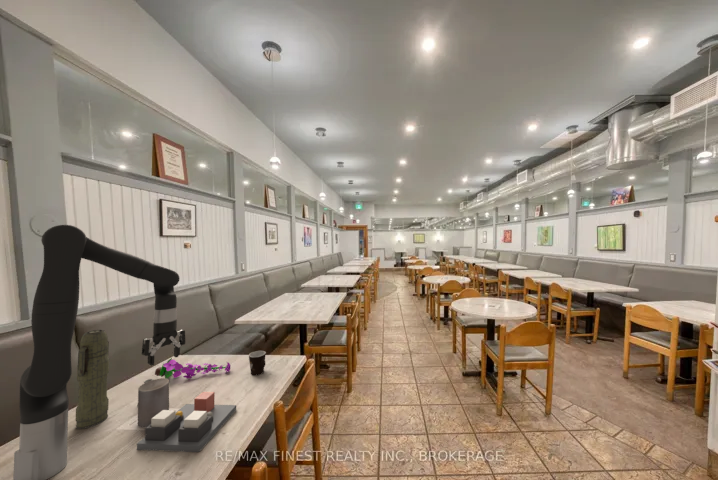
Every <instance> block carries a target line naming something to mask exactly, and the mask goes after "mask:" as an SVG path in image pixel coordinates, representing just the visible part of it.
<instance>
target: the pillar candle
mask: <svg viewBox="0 0 718 480" xmlns="http://www.w3.org/2000/svg"><path fill="white" fill-rule="evenodd" d="M137 392H138V393H137V397H138V398H137V404H138V407H137V426H138V427H139V428H146V427H148V426H149V425H150V424H151V419H152V418H153V417H154V416H156V415H157V414H158V413H160V412H161V411H162V410H170V379H168V378H165V377H163V378H162V377H161V378H156V379H154V380H152V381H149V382H146V383H144V382H143V383H142V384H141V385H139V387H138V391H137Z"/></svg>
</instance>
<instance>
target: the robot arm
mask: <svg viewBox="0 0 718 480" xmlns="http://www.w3.org/2000/svg"><path fill="white" fill-rule="evenodd" d="M41 244H42V246H43V268H42V272H41V276H40V278H39V281H38V284H37V287H36V290H35V293H34V298H33V303H32V309H31V334H32V341H33V355H32V360H31V365H29V366H28V367H27V368H26V369H25V370H24V371H23V372H22V374H21V377H20V381H19V404H18V405H19V418H20V420H19V422H20V423H19V424H20V425H19V446H18V447H19V449H17V450H16V451H14V453H13V454H14V455H13V477H12V478H13V479H12V480H48V479H50V478H52V477H54V476H55V475H57V474H58V473H60V472H61V471H62V470H63V469H64V468H65V467H66V466H67V464H68V432H69V431H68V429H69V427H68V426H69V405H70V404H69V396H68V391H67V388H68V387H67V384H68V382H69V381H70V379H71V376H72V374H73V370H72V369H73V368H72V367H73V366H72V342H73V335H74V332H75V328H76V327H75V326H76V322H77V316H78V312H79V311H78V310H79V303H80V302H79V301H80V267H81V266H80V265H81V262H82V259H83V260H87V261H89V262H93V263H96V264H99V265H102V266H105V267H107V268H109V269H110V270H111V269H112V270H115V271H116V272H119V273H122V274H124V275H128V276H129V277H133V278H136V279H139V280H144V281H147V282H150V283H152V284H153V285H152V286H153V291H154V297H155V299H154V312H153V319H152V321H153V325H152V326H153V330H152V332H153V335H152V337H150V338H146V337H145V338H143V339H142V347H141V355H142V356H144V357H147V364H148V365H149V366H154V365H155V354H156V352H157V351H158V350H159V349H160V348H162V347H165V346H169V345H173V346H174V347H173V357H174V358H179V356H180V355H181V346H184V345H186V331H185V330H183V329H178V310H177V306H178V305H177V303H178V302H177V299H178V298H177V294H176V293H175V286H177V285H178V284H179V282H180V276H179V274H178V273H177V272H176V271H175V270H173V269H170V268H167V267H164V266H162V265H161V266H160V265H158V264H155V263H153V262H150V261H148V260H146V259H144V258H141V257H139V256H135V255H133V254H130V253H127V252H124V251H122V250H117V249H114V248H111V247H109V246H107V245H106V246H105V245H103V244H101V243H99V242H96V241H95V240H92V239H91V238H89V237H87V236H86V233H85V232H84V231H83V230H82V229H80V228H79V227H78V226H75V225H71V224H59V225H58V224H57V225H55V226H52V227H49V228H48V229H47V230H45V232H44V233H43V234H42V236H41ZM177 329H178V331H177ZM177 336H178V340H177V339H176V338H177ZM151 344H152V345H151Z"/></svg>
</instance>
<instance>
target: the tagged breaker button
mask: <svg viewBox="0 0 718 480" xmlns="http://www.w3.org/2000/svg"><path fill="white" fill-rule="evenodd" d="M175 413H176V410H175V409H174V410H173V409H169V410H162V411H161V412H160V413H158V414H157V415H156V416H154V417H153V418H152V419H151V427H165V426H167V425H168V424H169V423H170V422H171V421H173V420H174V419H175Z"/></svg>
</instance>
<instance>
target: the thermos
mask: <svg viewBox="0 0 718 480" xmlns="http://www.w3.org/2000/svg"><path fill="white" fill-rule="evenodd" d="M108 337H109V336H108V334H107V332H106V330H104V329H94V330H89V331H87V332H85V333H84V334H83V335H82V337H81V339H80V341H79V350H78V353H77V367H76V380H77V382H78V388H77V389H78V390H77V391H78V395H77V406H76V408H75V422H76V424H75V428H76V429H78V430H82V429H87V428H91V427H93V426H96V425H98V424H100V423H103V422H104V421H105V420H107V419H108V416H109V415H108V411H109V398H108V374H109V372H110V358H109V346H110V345H109V342H110V341H109V339H108Z"/></svg>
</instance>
